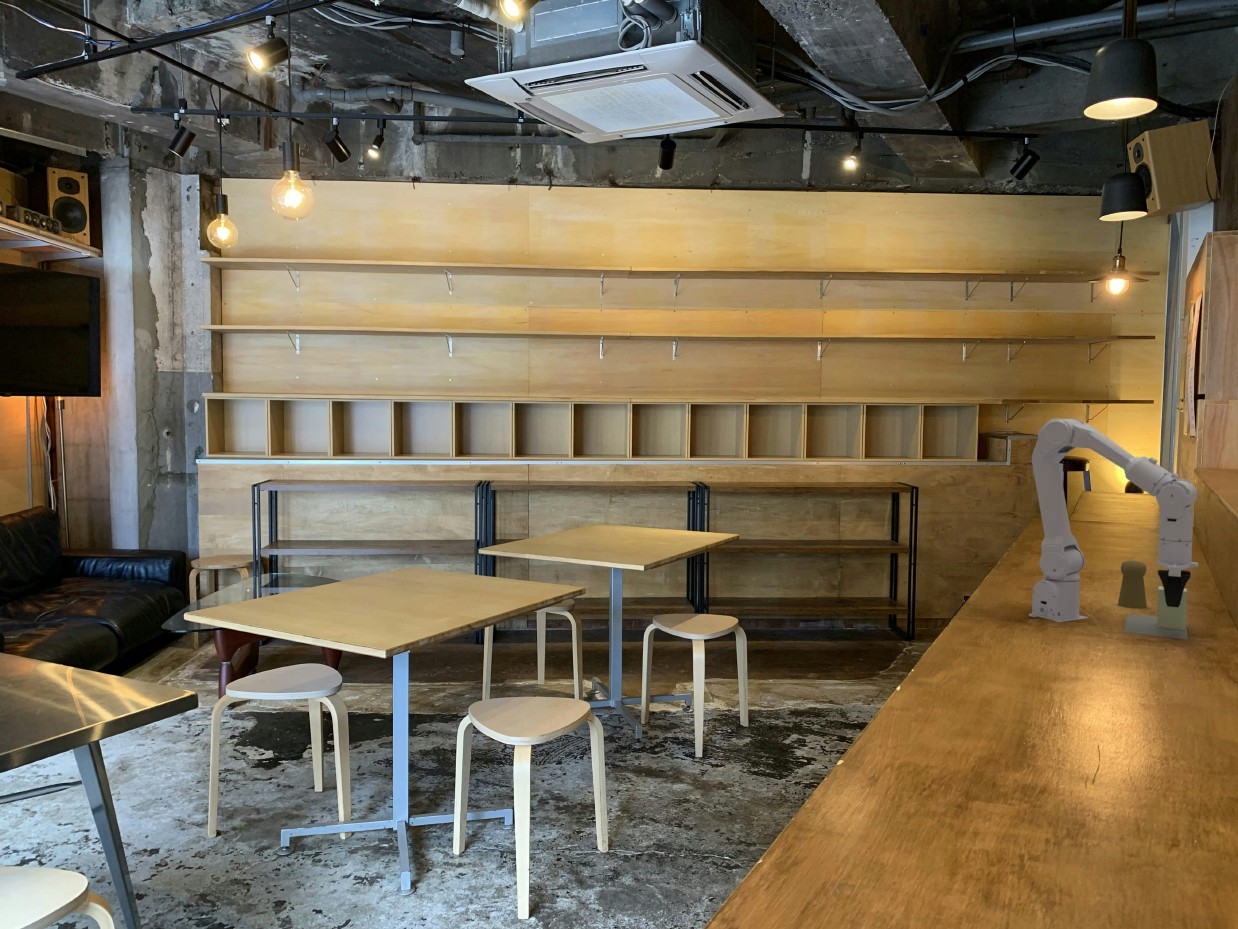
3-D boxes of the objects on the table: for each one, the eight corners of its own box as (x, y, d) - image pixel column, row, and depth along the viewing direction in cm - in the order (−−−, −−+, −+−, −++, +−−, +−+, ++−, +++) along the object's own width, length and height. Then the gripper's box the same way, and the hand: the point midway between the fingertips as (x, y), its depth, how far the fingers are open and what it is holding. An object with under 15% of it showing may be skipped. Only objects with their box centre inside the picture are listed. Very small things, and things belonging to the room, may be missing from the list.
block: (1185, 630, 184) (1186, 591, 183) (1157, 627, 186) (1158, 589, 186) (1185, 626, 187) (1186, 588, 186) (1157, 623, 190) (1158, 586, 189)
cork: (1139, 605, 210) (1141, 559, 209) (1152, 611, 204) (1154, 563, 203) (1112, 605, 210) (1114, 559, 210) (1124, 610, 204) (1126, 563, 204)
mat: (1187, 642, 176) (1187, 639, 176) (1123, 635, 182) (1124, 632, 182) (1185, 622, 193) (1185, 619, 193) (1127, 616, 199) (1127, 613, 199)
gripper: (1200, 546, 171) (1197, 615, 172) (1197, 537, 184) (1195, 602, 185) (1157, 543, 175) (1154, 611, 176) (1157, 534, 187) (1155, 598, 188)
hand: (1172, 606), depth 180 cm, fingers closed
